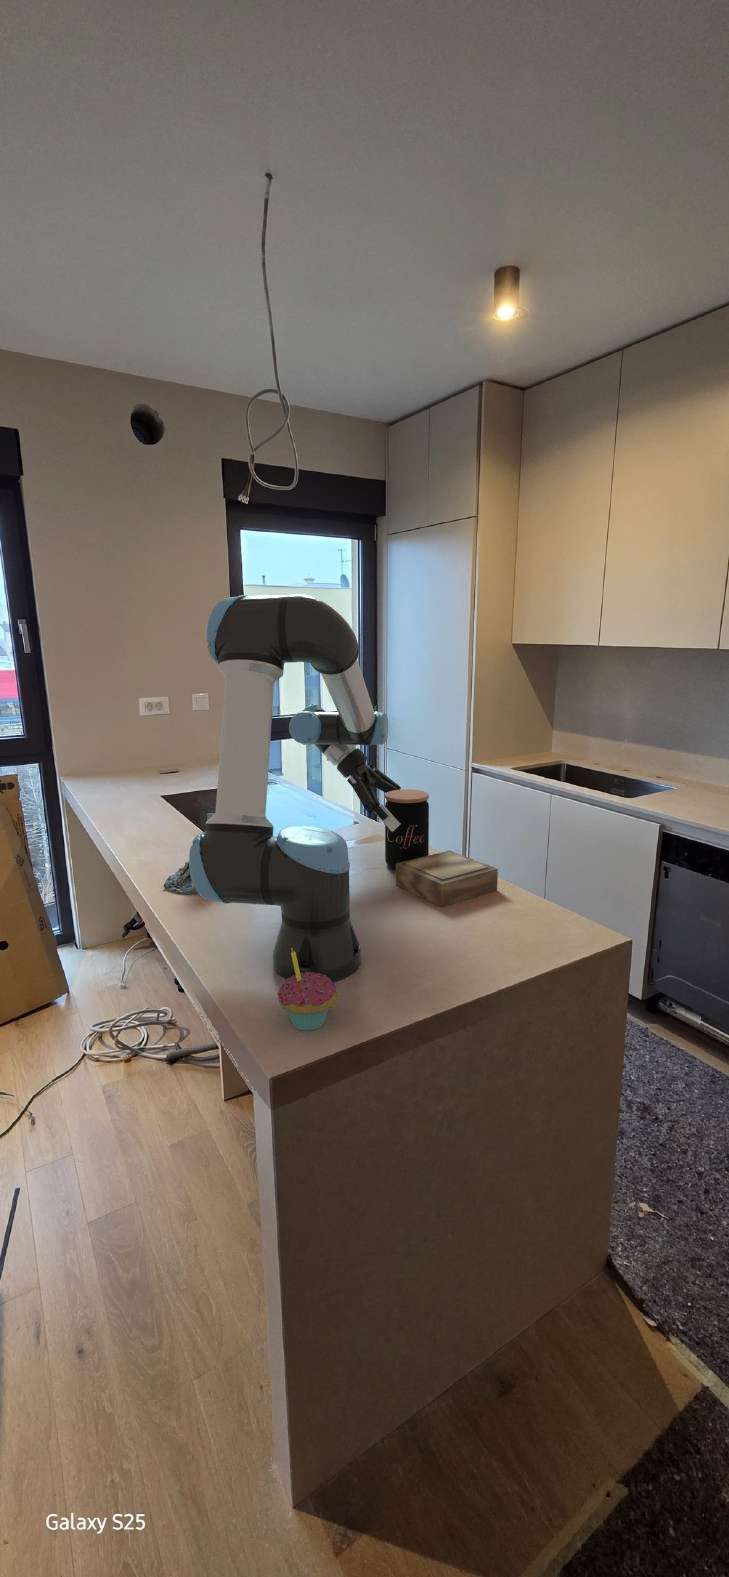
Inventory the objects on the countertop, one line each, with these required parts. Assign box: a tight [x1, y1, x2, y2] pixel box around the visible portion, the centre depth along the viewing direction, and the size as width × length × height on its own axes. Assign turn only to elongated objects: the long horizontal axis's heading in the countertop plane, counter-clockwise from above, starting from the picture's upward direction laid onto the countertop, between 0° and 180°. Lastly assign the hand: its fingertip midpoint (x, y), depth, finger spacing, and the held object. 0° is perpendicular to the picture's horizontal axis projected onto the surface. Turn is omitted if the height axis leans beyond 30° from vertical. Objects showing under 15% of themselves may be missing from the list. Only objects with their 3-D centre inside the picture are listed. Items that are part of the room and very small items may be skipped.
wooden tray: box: [395, 850, 499, 908], centre depth 147 cm, size 16×16×5 cm
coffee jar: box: [384, 788, 430, 871], centre depth 160 cm, size 11×11×18 cm
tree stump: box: [163, 812, 215, 895], centre depth 155 cm, size 18×20×18 cm
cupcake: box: [277, 948, 339, 1032], centre depth 95 cm, size 9×8×12 cm
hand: (404, 820), depth 161 cm, fingers open, 13 cm apart
